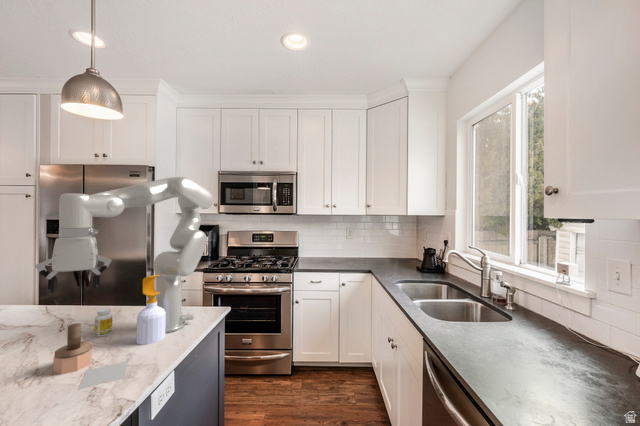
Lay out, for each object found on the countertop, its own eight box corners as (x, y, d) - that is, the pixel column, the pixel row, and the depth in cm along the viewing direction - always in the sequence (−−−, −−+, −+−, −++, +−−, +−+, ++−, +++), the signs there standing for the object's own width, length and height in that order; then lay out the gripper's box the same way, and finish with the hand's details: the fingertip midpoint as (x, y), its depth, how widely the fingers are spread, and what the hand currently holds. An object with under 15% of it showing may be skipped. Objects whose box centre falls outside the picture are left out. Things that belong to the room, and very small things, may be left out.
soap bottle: (144, 348, 93) (145, 278, 93) (131, 341, 98) (133, 275, 98) (169, 338, 101) (171, 274, 101) (157, 332, 106) (158, 271, 106)
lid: (94, 342, 87) (94, 317, 87) (88, 353, 80) (89, 327, 80) (59, 348, 83) (60, 323, 83) (50, 361, 75) (50, 333, 76)
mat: (127, 362, 84) (127, 360, 84) (124, 379, 76) (124, 377, 76) (86, 372, 79) (86, 370, 79) (78, 391, 70) (78, 389, 70)
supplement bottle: (90, 337, 101) (91, 312, 101) (101, 331, 106) (101, 307, 106) (105, 337, 101) (106, 312, 101) (115, 331, 107) (115, 307, 107)
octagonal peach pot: (92, 358, 87) (93, 342, 87) (87, 370, 80) (87, 353, 80) (59, 365, 82) (59, 348, 83) (50, 378, 76) (50, 361, 76)
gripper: (113, 232, 89) (112, 282, 89) (41, 233, 80) (40, 290, 80) (109, 233, 83) (109, 288, 83) (31, 235, 74) (30, 296, 74)
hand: (75, 289), depth 81 cm, fingers open, 9 cm apart
